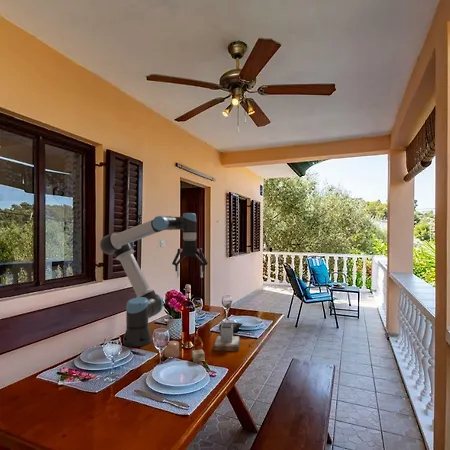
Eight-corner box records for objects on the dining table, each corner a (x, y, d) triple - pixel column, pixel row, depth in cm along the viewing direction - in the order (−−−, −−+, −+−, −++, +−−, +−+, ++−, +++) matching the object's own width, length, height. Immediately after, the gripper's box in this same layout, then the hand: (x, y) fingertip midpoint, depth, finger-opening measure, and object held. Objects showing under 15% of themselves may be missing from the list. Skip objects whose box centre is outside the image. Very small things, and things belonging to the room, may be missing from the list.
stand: (213, 350, 159) (213, 344, 159) (216, 340, 172) (216, 335, 172) (238, 350, 158) (238, 345, 158) (240, 341, 171) (240, 336, 171)
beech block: (194, 363, 144) (194, 354, 144) (192, 358, 149) (192, 350, 149) (204, 361, 146) (204, 353, 146) (202, 357, 151) (202, 349, 151)
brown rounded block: (162, 358, 150) (162, 345, 150) (167, 352, 157) (167, 340, 157) (176, 358, 149) (176, 346, 149) (180, 353, 156) (180, 341, 156)
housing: (222, 337, 169) (222, 322, 169) (233, 337, 168) (233, 323, 168) (220, 342, 162) (220, 326, 162) (232, 342, 161) (231, 327, 161)
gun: (216, 337, 177) (220, 319, 180) (234, 339, 192) (237, 322, 195) (223, 338, 174) (226, 320, 177) (240, 340, 190) (243, 323, 193)
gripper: (166, 240, 174) (166, 278, 174) (210, 240, 172) (210, 278, 172) (170, 239, 182) (170, 276, 182) (212, 239, 179) (212, 276, 179)
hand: (190, 277), depth 177 cm, fingers open, 13 cm apart
